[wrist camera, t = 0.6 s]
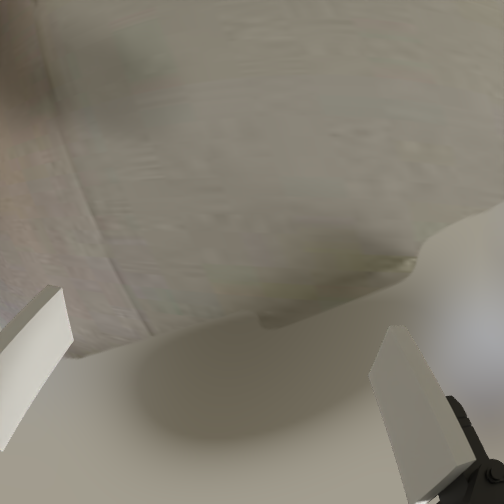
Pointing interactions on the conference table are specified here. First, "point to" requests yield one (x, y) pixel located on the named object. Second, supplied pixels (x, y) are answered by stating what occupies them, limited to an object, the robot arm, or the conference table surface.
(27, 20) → the conference table surface
